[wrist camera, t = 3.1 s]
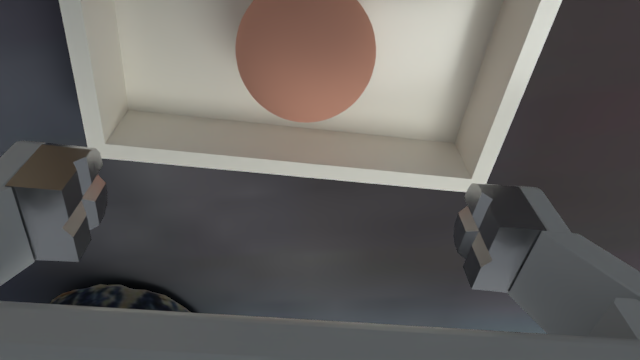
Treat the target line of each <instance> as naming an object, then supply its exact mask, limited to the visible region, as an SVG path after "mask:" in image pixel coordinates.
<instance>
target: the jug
mask: <svg viewBox="0 0 640 360" xmlns="http://www.w3.org/2000/svg"><path fill="white" fill-rule="evenodd" d="M49 304H60V305H76V306H93V307H109V308H125V309H142V310H158V311H175V312H190V311H189V310H188V309H186V308H185V307H183V306H182V305H180V304H178V303H177V302H175V301H174V300H172V299H170V298H169V297H167V296H165V295H162V294H158V293H155V292H151V291H148V290H140V289H131V288H128V287H126V286H123V285H103V284H99V285H95V286H92V287H89V288H85V289H76V290H72V291H69V292H66V293H63V294H61V295H59V296H58V297H56V298H54V299H53V300H52V301H51V302H50V303H49Z"/></svg>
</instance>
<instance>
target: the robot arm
mask: <svg viewBox="0 0 640 360" xmlns="http://www.w3.org/2000/svg"><path fill="white" fill-rule="evenodd" d="M102 167H103V164H102V159H101V155H100V152H99V151H98V150H97V149H96V148H89V147H80V146H71V145H62V144H53V143H44V142H33V141H18V142H15V143H14V144H13V145H12V146H11V147H10V148H9V149H8V150H7V151H6V152H5V153H4V154H3V155H2V156H1V157H0V286H1V285H3V284H4V283H5V282H7V281H8V280H10V279H11V278H13V277H14V276H15V275H17V274H18V273H20V272H21V271H23V270H24V269H26V268H27V267H28V266H30V265H31V264H33V263H34V262H35V261H34V260H47V261H70V262H79V261H80V259H81V257H82V255H83V254H84V252H85V250H86V248H87V247H88V245H89V243H90V241H91V234H90V230H91V229H93V228H95V227H97V226H98V225H100V223H101V221H102V219H103V217H104V214H105V210H106V206H107V187H106V183H105V182H104V181H103V180H102V179H101V178H100V177H99V176H98V173H99V171H100V170H101V168H102ZM464 199H465V201H466V203H467V205H468V206H467V207H465V208H464V209H463V210H461V211H460V212H459V213H458V215H457V218H456V221H455V224H454V235H453V236H454V244H455V247H456V250H457V252H458V253H459V254H460V255H461V256H462V257H464V258H465V259H466V260H465V263H464V265H463V268H464V271H465V274H466V276H467V279H468V281H469V284H470V287H471V289H476V290H486V291H496V292H507V293H508V295H509V296H510V297H511V298H512V299H513V300H514V301H515V302H516V303H517V304H518V305H519V306H520V307H521V308H522V309H523V310H524V311H525V312H526V313H527V314H528V315H529V316H530V317H531V318H532V319H533V320H534V321H535V322H536V323H537V324H538V325H539V326H540V327H541V328H542V329H543V330H544V331H545V332H546V333H547V334H538V333H520V332H504V331H488V330H472V329H456V328H439V327H423V326H407V325H391V324H375V323H359V322H342V321H325V320H308V319H291V318H275V317H258V316H241V315H224V314H207V313H191V312H175V311H158V310H142V309H125V308H109V307H93V306H76V305H60V304H44V303H27V302H11V301H0V360H640V272H639V271H638V270H636V269H634V268H633V267H631V266H629V265H628V264H626V263H625V262H623V261H621V260H620V259H618V258H617V257H615V256H613V255H612V254H610V253H608V252H607V251H605V250H604V249H602V248H600V247H599V246H597V245H596V244H594V243H592V242H591V241H589V240H587V239H586V238H584V237H583V236H581V235H579V234H574V233H571V231H570V230H569V229H568V227H567V226H566V224H565V223H564V221H563V220H562V219H561V217H560V216H559V214H558V213H557V211H556V210H555V209H554V207H553V206H552V204H551V203H550V201H549V200H548V199H547V197H546V196H545V194H544V193H543V191H542V190H540V189H539V188H537V187H524V186H503V185H489V184H475V183H472V184H471V185H470V186H469V188H468V189H467V192H466V194H465V197H464Z"/></svg>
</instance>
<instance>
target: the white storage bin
mask: <svg viewBox="0 0 640 360" xmlns="http://www.w3.org/2000/svg"><path fill="white" fill-rule="evenodd" d="M357 1H358V2H359V3H360V4H361V6H362V7H363V9H364V10H365V12H366V14H367V15H368V17H369V20H370V22H371V24H372V27H373V31H374V35H375V42H376V59H375V65H374V69H373V73H372V76H371V79H370V81H369V83H368V85H367V87H366V88H365V90H364V92H363V93H362V94H361V96H360V97H359V98H358V100H357V101H356V102H355V103H354V104H353V105H351V106H350V107H349V108H348V109H346V110H345V111H343V112H342V113H340V114H338V115H336V116H334V117H332V118H329V119H326V120H323V121H318V122H309V123H305V122H295V121H290V120H286V119H283V118H281V117H278V116H276V115H274V114H273V113H271V112H269V111H268V110H266V109H265V108H264V107H262V106H261V105H260V104H259V103H258V102H257V101H256V100H255V99H254V98H253V97H252V95H251V94H250V93H249V91H248V90H247V88H246V86H245V85H244V83H243V81H242V79H241V76H240V73H239V70H238V66H237V60H236V50H235V46H236V37H237V32H238V28H239V25H240V22H241V20H242V17H243V15H244V14H245V12H246V10H247V8H248V7H249V6H250V4H251V3H252V2H253V0H59V4H60V9H61V14H62V20H63V25H64V30H65V35H66V40H67V45H68V50H69V55H70V60H71V65H72V70H73V75H74V80H75V85H76V91H77V96H78V101H79V106H80V111H81V116H82V121H83V126H84V131H85V136H86V141H87V146H88V147H89V148H96V149H97V150H98V151H99V152H100V155H101V158H105V159H115V160H126V161H137V162H148V163H158V164H169V165H180V166H190V167H201V168H212V169H223V170H233V171H244V172H255V173H265V174H276V175H287V176H298V177H308V178H319V179H330V180H340V181H351V182H362V183H372V184H383V185H394V186H405V187H415V188H426V189H437V190H447V191H458V192H467V189H468V188H469V186H470V185H471V184H472V183H475V184H486V183H487V180H488V178H489V175H490V173H491V171H492V168H493V166H494V163H495V161H496V159H497V156H498V154H499V151H500V149H501V147H502V144H503V142H504V139H505V137H506V134H507V132H508V130H509V127H510V125H511V122H512V120H513V118H514V115H515V113H516V110H517V108H518V106H519V103H520V101H521V98H522V96H523V94H524V91H525V89H526V86H527V84H528V81H529V79H530V77H531V74H532V72H533V69H534V67H535V65H536V62H537V60H538V57H539V55H540V53H541V50H542V48H543V45H544V43H545V41H546V38H547V36H548V33H549V31H550V28H551V26H552V24H553V21H554V19H555V16H556V14H557V12H558V9H559V7H560V4H561V2H562V0H357Z"/></svg>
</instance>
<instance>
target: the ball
mask: <svg viewBox="0 0 640 360" xmlns="http://www.w3.org/2000/svg"><path fill="white" fill-rule="evenodd" d="M235 50H236V60H237V66H238V70H239V73H240V76H241V79H242V81H243V83H244V85H245V86H246V88H247V90H248V91H249V93H250V94H251V95H252V97H253V98H254V99H255V100H256V101H257V102H258V103H259V104H260V105H261V106H262V107H264V108H265V109H266V110H268V111H269V112H271V113H273V114H274V115H276V116H278V117H281V118H283V119H286V120H290V121H295V122H305V123H309V122H318V121H323V120H326V119H329V118H332V117H334V116H336V115H338V114H340V113H342V112H343V111H345V110H346V109H348V108H349V107H350V106H351V105H353V104H354V103H355V102H356V101H357V100H358V98H359V97H360V96H361V94H362V93H363V92H364V90H365V88H366V87H367V85H368V83H369V81H370V79H371V76H372V73H373V69H374V65H375V59H376V42H375V35H374V31H373V27H372V24H371V22H370V20H369V17H368V15H367V14H366V12H365V10H364V9H363V7H362V6H361V4H360V3H359V2H358V1H357V0H253V2H252V3H251V4H250V6H249V7H248V8H247V10H246V12H245V14H244V15H243V17H242V20H241V22H240V25H239V28H238V32H237V37H236V46H235Z"/></svg>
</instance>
